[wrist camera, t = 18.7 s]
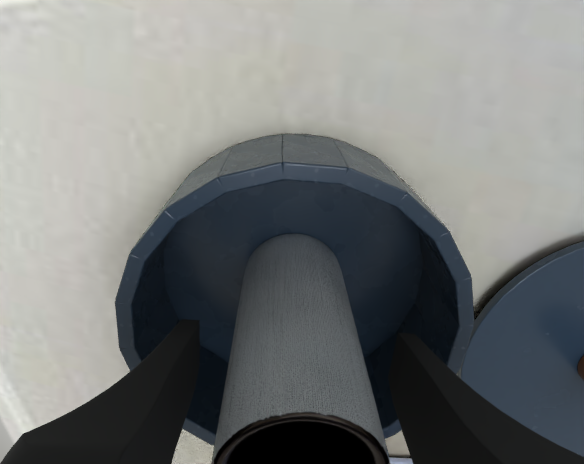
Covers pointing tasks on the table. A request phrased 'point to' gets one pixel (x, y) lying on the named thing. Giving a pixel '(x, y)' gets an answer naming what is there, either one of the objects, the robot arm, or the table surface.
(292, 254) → the gray hollow cylinder
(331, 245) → the pan
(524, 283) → the pan lid
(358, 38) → the table surface
